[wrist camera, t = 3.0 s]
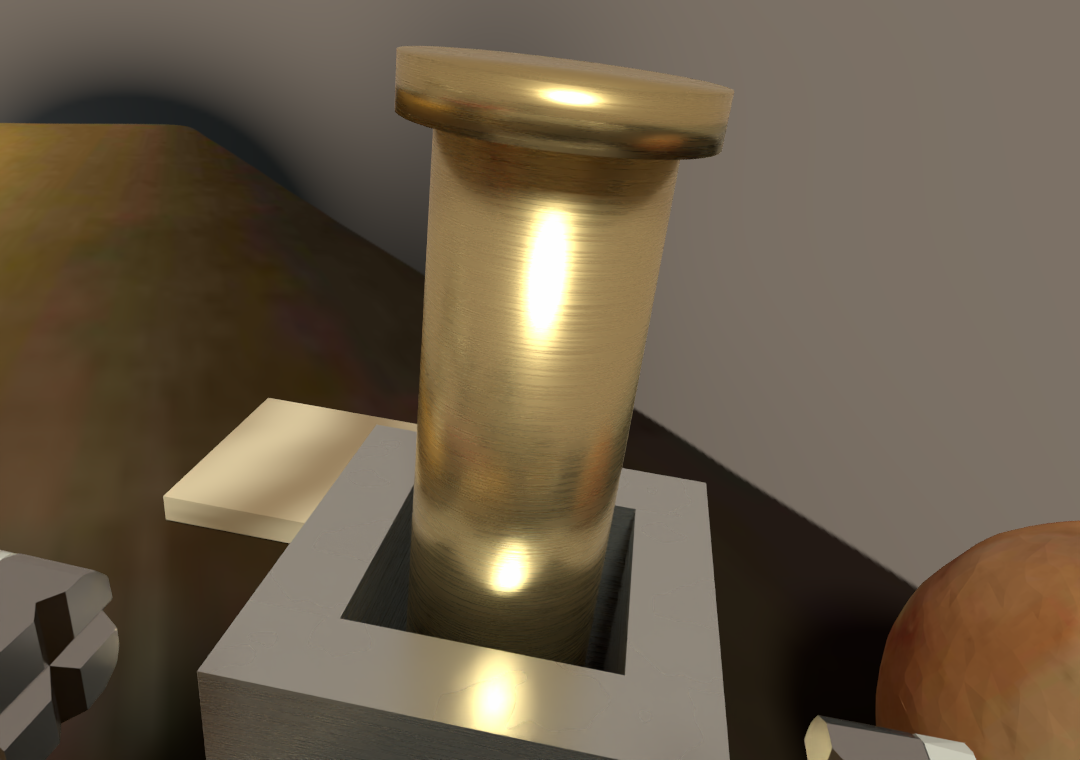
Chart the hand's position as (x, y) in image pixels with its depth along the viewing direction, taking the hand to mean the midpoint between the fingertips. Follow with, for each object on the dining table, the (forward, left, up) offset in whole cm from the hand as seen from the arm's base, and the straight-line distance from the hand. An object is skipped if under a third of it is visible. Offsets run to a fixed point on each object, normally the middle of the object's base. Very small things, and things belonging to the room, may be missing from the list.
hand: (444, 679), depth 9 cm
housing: (0, +8, -11) cm, 14 cm away
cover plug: (0, +8, -11) cm, 14 cm away
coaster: (-9, +18, -11) cm, 23 cm away
